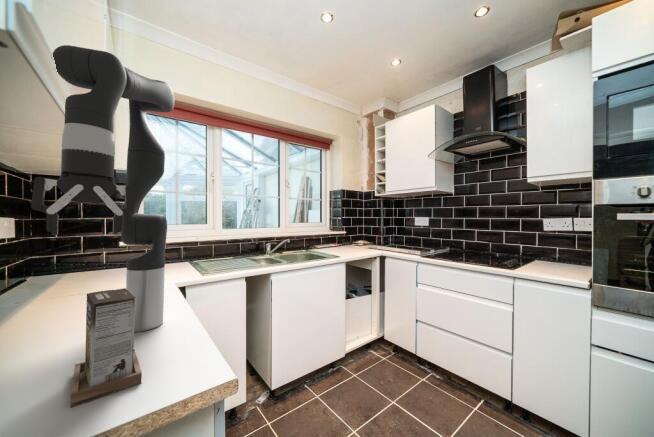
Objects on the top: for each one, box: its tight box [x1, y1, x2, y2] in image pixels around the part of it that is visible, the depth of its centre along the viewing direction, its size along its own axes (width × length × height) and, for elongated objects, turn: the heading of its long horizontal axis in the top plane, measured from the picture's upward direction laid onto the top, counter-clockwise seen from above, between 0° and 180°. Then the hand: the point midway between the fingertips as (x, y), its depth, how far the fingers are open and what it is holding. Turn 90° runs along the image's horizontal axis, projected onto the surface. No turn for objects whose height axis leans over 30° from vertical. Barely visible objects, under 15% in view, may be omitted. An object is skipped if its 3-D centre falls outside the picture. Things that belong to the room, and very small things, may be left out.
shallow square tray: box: [70, 348, 142, 408], centre depth 49 cm, size 12×10×2 cm
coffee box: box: [84, 287, 135, 388], centre depth 50 cm, size 9×6×16 cm
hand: (86, 234), depth 49 cm, fingers open, 8 cm apart
